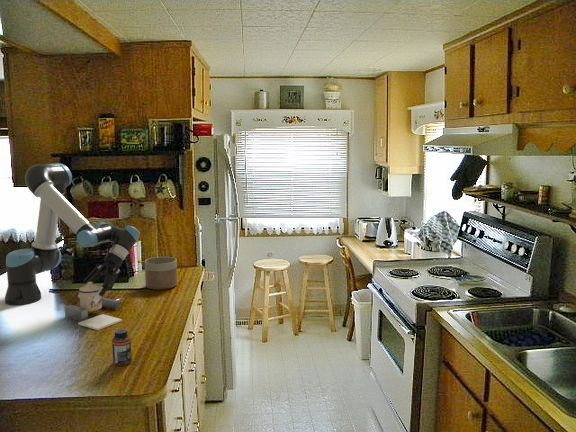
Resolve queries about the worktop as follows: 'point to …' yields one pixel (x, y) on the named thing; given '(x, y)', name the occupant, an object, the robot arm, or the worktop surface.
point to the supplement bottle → (121, 348)
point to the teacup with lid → (89, 297)
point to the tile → (99, 322)
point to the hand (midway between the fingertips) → (87, 300)
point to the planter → (161, 273)
